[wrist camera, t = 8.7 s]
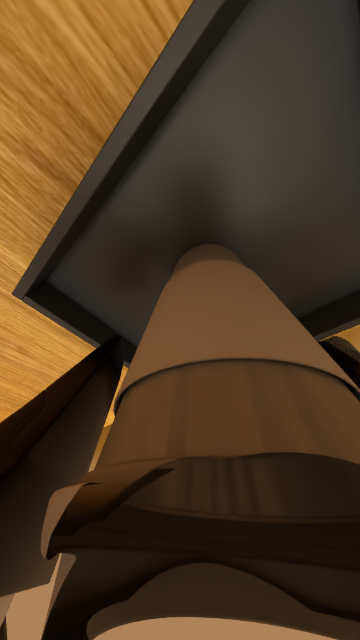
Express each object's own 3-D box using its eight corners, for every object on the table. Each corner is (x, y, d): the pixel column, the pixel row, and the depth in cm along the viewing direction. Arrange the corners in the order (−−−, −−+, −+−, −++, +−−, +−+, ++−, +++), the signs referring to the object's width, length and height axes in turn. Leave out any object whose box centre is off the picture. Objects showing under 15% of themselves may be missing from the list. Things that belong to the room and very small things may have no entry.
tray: (401, 270, 11) (448, 290, 9) (176, 375, 20) (174, 397, 18) (344, -167, 5) (467, -445, 3) (39, 276, 13) (10, 294, 11)
